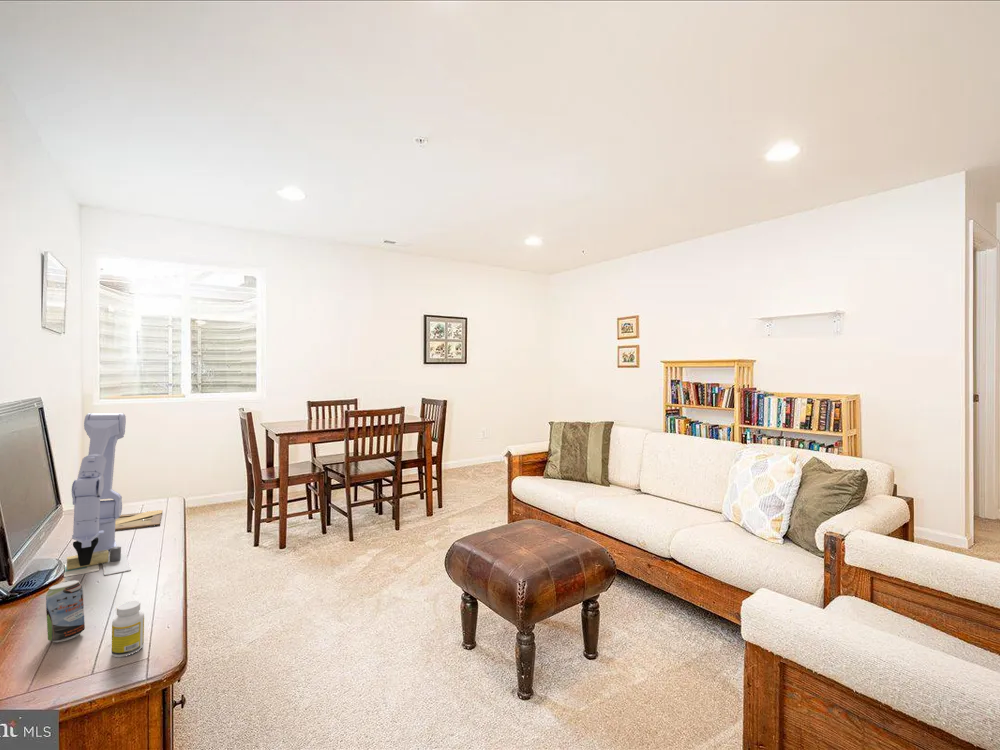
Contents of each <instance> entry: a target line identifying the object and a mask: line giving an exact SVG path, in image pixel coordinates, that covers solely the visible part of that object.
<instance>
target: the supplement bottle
mask: <svg viewBox="0 0 1000 750" xmlns="http://www.w3.org/2000/svg"><path fill="white" fill-rule="evenodd" d="M115 613H116V616H115V617H114V618H113V619H112V623H111V655H112V656H113V657H114V656H115V658H121V657H120V656H126V655H129V654H132V653H135V652H136V651H138V652H140V651H141V650H142V649H143V647H144V644H145V643H144V641H145V638H144V637H145V636H144V635H145V613H144V612H143V611H142V610H141V601H139V600H129V601H124V602H123V603H121V604H119V605H117V607H116V612H115ZM141 648H142V649H141ZM140 649H141V650H140ZM139 650H140V651H139ZM135 654H136V653H135ZM132 655H133V654H132ZM126 657H127V656H126Z"/></svg>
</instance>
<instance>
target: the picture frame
mask: <svg viewBox="0 0 1000 750" xmlns="http://www.w3.org/2000/svg"><path fill="white" fill-rule="evenodd" d="M161 516H163V509H160V510H159V509H158V510H148V511H145V512H135V513H126V514H125V513H124V514H121V516H120V517H119V518H118V519H116V520H115V532H118V531H119V532H120V531H124V530H132V529H133V530H134V529H139V528H140V529H141V527H142V528H149V527H148V526H151V527H155V526H154V525H158V526H160V525H161V522H162V517H161ZM160 521H161V522H160Z"/></svg>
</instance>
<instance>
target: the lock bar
mask: <svg viewBox="0 0 1000 750" xmlns="http://www.w3.org/2000/svg"><path fill="white" fill-rule="evenodd" d="M108 556H110V551H109V550H102V551H97V552H93V554H92V558H91V562H90V565H95V564H98V565H99V564H102V563H105V562H108ZM66 564H67V566H66V568H67V570H70V569H75V568H80V567H85V566H80V564H79V559H78V554H76V555H75V554H74V555H71V556H66ZM90 565H86V566H90Z"/></svg>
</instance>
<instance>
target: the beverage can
mask: <svg viewBox="0 0 1000 750" xmlns="http://www.w3.org/2000/svg"><path fill="white" fill-rule="evenodd" d="M83 590H84V586H83V585H82V584H81V583H80V581H79V580H77V579H72V580H68V581H63V582H59V583H56V584H54V585H52V586H49V587H48V590H47V592H46V594H45V608H46V627H47V628H46V629H47V630H46V632H47V640H48V641H49V642H52V643H61V642H65V641H69V640H72V639H74V638H76V637H78V636H79V635H81V633H83V631H84V630H85V628H86V625H85V622H86V621H85V609H84V605H85V604H84V591H83Z"/></svg>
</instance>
